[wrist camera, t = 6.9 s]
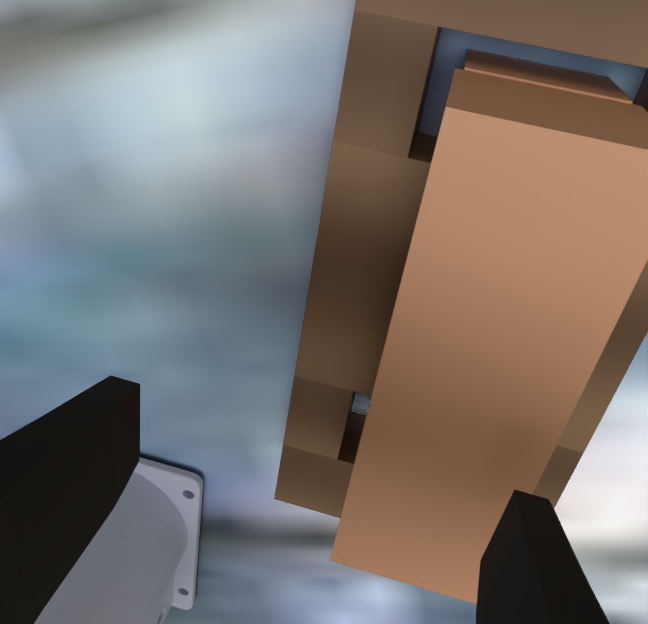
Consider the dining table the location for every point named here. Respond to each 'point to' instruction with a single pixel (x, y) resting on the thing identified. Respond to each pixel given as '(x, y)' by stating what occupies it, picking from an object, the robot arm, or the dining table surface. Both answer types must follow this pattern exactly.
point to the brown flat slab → (400, 217)
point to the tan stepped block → (496, 313)
